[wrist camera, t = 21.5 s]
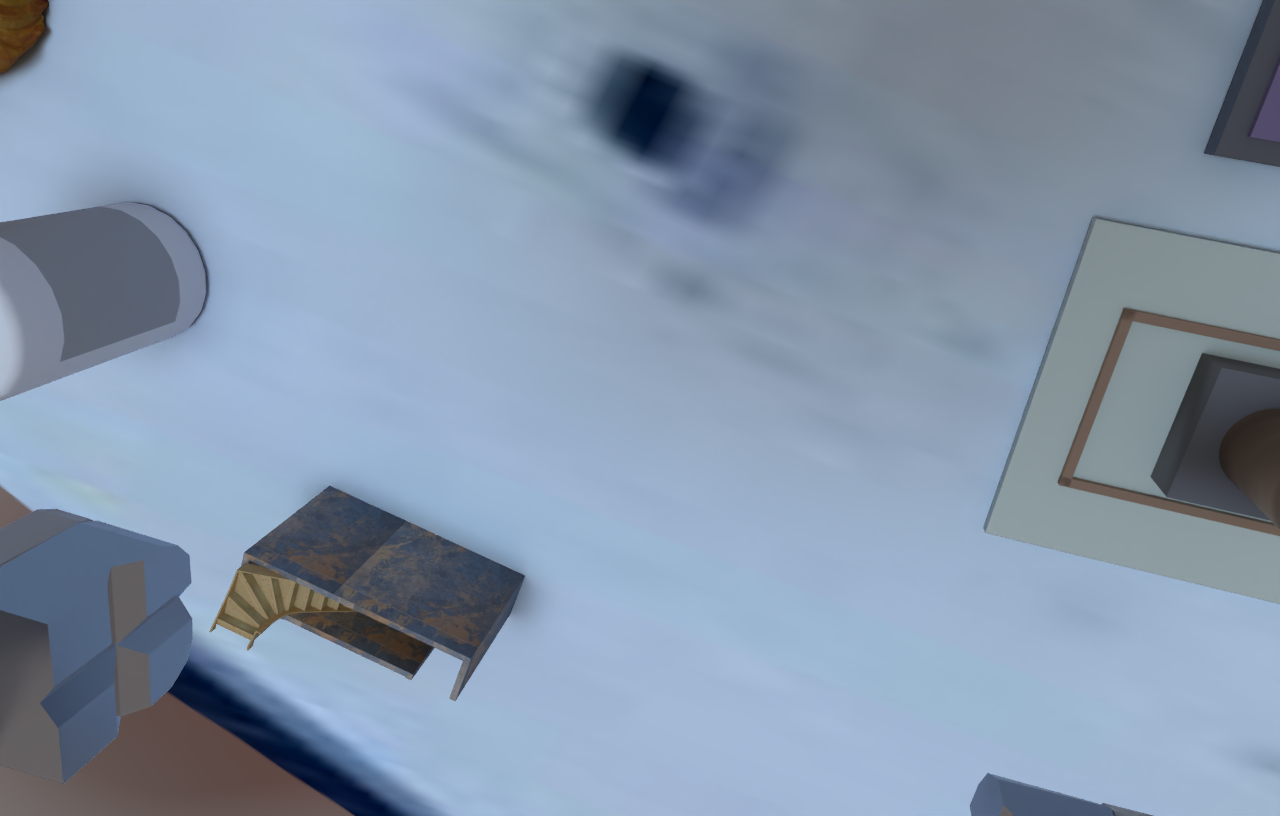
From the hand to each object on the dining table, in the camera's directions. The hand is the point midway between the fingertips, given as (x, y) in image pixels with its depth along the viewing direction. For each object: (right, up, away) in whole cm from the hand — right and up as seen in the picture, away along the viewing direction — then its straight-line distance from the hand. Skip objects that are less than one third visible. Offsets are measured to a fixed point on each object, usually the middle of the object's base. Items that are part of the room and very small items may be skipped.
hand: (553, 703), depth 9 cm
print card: (+25, +2, +27) cm, 37 cm away
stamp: (+25, +2, +27) cm, 37 cm away
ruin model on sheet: (-11, -4, +39) cm, 40 cm away
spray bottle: (-24, +10, +36) cm, 44 cm away
